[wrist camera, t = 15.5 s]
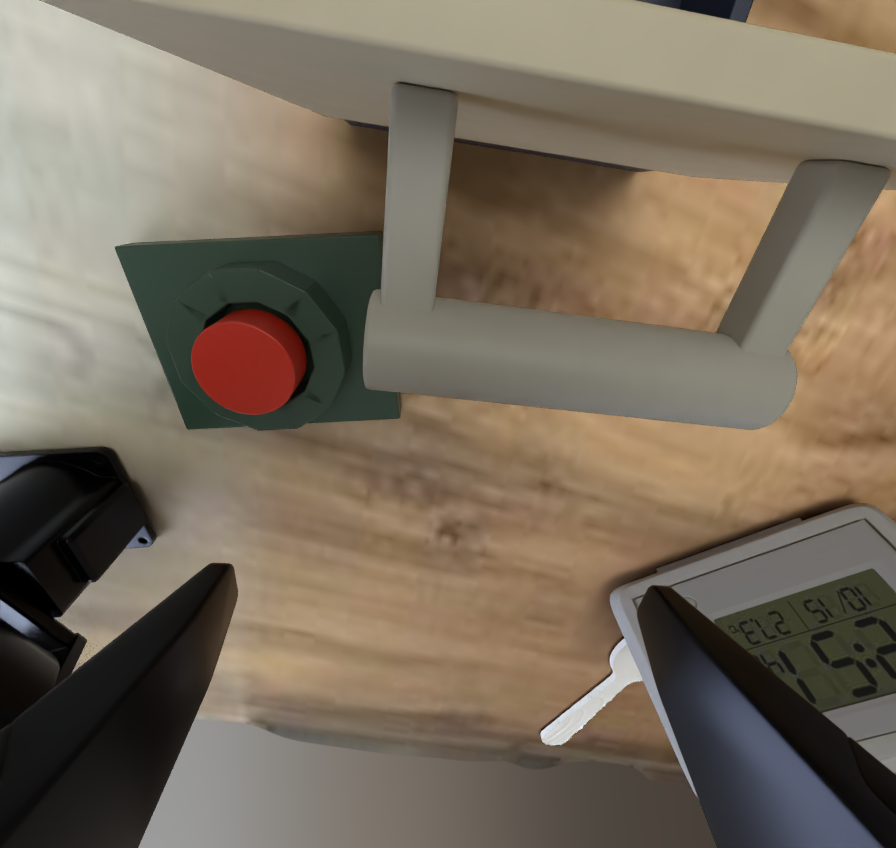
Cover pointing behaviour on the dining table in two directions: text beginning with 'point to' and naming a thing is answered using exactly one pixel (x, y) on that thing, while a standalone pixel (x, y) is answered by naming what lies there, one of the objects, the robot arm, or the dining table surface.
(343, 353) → the alarm box
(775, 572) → the digital clock
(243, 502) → the dining table surface
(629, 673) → the spoon
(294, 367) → the alarm button
